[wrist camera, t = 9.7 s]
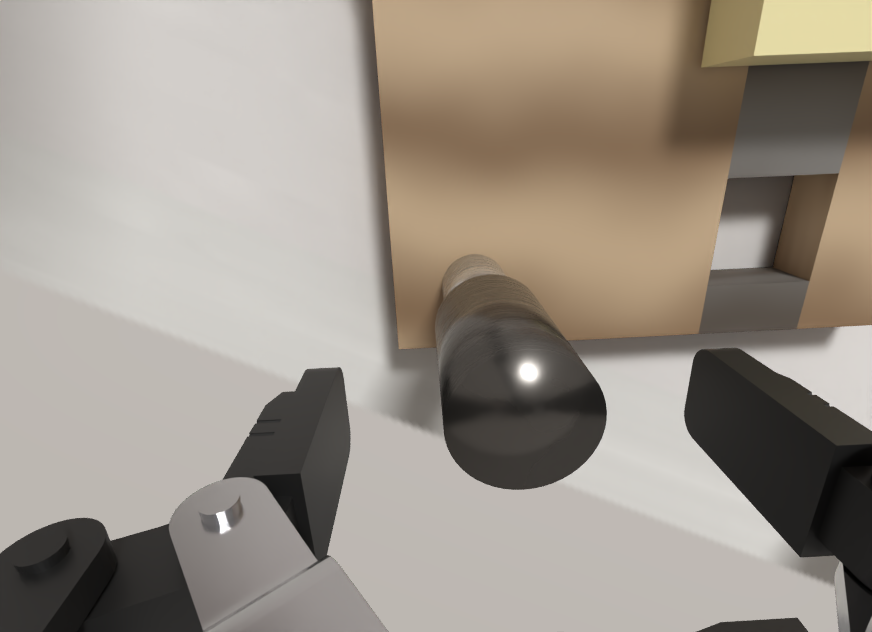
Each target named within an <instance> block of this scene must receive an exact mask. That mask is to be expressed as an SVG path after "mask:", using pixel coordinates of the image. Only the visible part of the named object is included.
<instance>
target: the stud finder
mask: <svg viewBox="0 0 872 632" xmlns="http://www.w3.org/2000/svg"><path fill="white" fill-rule="evenodd" d="M854 61H872V0H711V6H710V12H709V19H708V25H707V32H706V38H705V45H704V51H703V58H702V64H701V68H704V67H729V66H754V65H779V64H804V63H829V62H854Z"/></svg>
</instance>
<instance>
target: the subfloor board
mask: <svg viewBox="0 0 872 632" xmlns="http://www.w3.org/2000/svg"><path fill="white" fill-rule="evenodd" d="M372 5H373V19H374V32H375V45H376V58H377V71H378V84H379V97H380V110H381V123H382V136H383V149H384V162H385V175H386V188H387V202H388V215H389V228H390V241H391V254H392V267H393V280H394V293H395V306H396V319H397V332H398V345H399V349H413V348H433V347H437V346H436V334H435V321H436V315H437V312H438V309H439V307H440V305H441V303H442V301H443V300H444V297H443V291H442V281H443V277H444V274H445V272H446V270H447V269H448V267H449V266H450V265H451V264H452V263H453V262H454V261H456V260H457V259H459V258H461V257H463V256H466V255H471V254H479V255H484V256H487V257H489V258H491V259H493V260H494V261H495V262H497V263H498V265H499V266H500V267H501V269H502V270H503V272H504V273H505V275H506V276H507V277H511V278H513V279H515V280H518V281H519V282H521V283H523V284H524V285H525V286H526V287H528V288H529V289H530V291H531V292H532V293H533V294H534V295H535V297H536V298H537V300H538V301H539V302H540V304H541V305H542V306H543V308H544V309H545V311H546V312H547V313H548V315H549V316H550V317H551V319H552V320H553V322H554V323H555V324H556V326H557V327H558V329H559V330H560V331H561V333H562V334H563V335H564V337H565V338H566V340H567V341H569V340H588V339H608V338H627V337H647V336H666V335H686V334H705V333H725V332H744V331H764V330H783V329H803V328H822V327H842V326H861V325H872V61H854V62H829V63H804V64H779V65H754V66H729V67H704V68H701V64H702V58H703V51H704V45H705V38H706V32H707V25H708V19H709V12H710V6H711V0H372ZM792 175H795V176H794V180H793V185H792V189H791V193H790V197H789V201H788V206H787V210H786V214H785V218H784V222H783V226H782V231H781V235H780V239H779V243H778V247H777V252H776V256H775V260H774V264H773V267H766V268H746V269H725V270H711V264H712V259H713V254H714V248H715V243H716V238H717V232H718V227H719V222H720V216H721V211H722V206H723V200H724V195H725V190H726V184H727V179H728V178H747V177H769V176H792Z"/></svg>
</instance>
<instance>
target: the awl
mask: <svg viewBox="0 0 872 632" xmlns="http://www.w3.org/2000/svg"><path fill="white" fill-rule="evenodd" d="M442 291H443V297H444V300H443V301H442V303H441V305H440V307H439V309H438V312H437V315H436V321H435V334H436V346H437V358H438V369H439V381H440V392H441V404H442V415H443V427H444V436H445V441H446V444H447V447H448V450H449V452H450V454H451V456H452V457H453V459H454V460H455V462H456V463H457V464H458V465H459V466H460V467H461V468H462V469H463V470H464V471H465V472H466V473H467V474H469V475H470V476H472V477H473V478H475V479H476V480H479V481H481V482H483V483H485V484H488V485H491V486H494V487H498V488H503V489H513V490H514V489H515V490H516V489H517V490H519V489H532V488H537V487H542V486H545V485H548V484H551V483H554V482H556V481H558V480H561V479H563V478H564V477H566V476H568V475H570V474H571V473H573V472H574V471H575V470H577V469H578V468H579V467H580V466H582V465H583V464H584V463H585V462H586V461H587V460H588V458H589V457H590V456H591V455H592V454H593V452H594V451H595V449H596V448H597V446H598V444H599V442H600V440H601V438H602V436H603V433H604V430H605V425H606V416H607V410H606V402H605V398H604V395H603V392H602V390H601V388H600V386H599V384H598V383H597V381H596V380H595V378H594V377H593V376H592V374H591V373H590V371H589V370H588V369H587V367H586V366H585V365H584V363H583V362H582V360H581V359H580V358H579V356H578V355H577V353H576V352H575V351H574V349H573V348H572V347H571V345H570V344H569V342H568V341H567V340H566V338H565V337H564V335H563V334H562V333H561V331H560V330H559V329H558V327H557V326H556V324H555V323H554V322H553V320H552V319H551V317H550V316H549V315H548V313H547V312H546V311H545V309H544V308H543V306H542V305H541V304H540V302H539V301H538V300H537V298H536V297H535V295H534V294H533V293H532V292H531V291H530V289H529V288H528V287H526V286H525V285H524V284H523V283H521V282H519V281H518V280H515V279H513V278H511V277H507V276H506V275H505V273H504V272H503V270H502V269H501V267H500V266H499V265H498V263H497V262H495V261H494V260H493V259H491V258H489V257H487V256H484V255H479V254H471V255H466V256H463V257H461V258H459V259H457V260H456V261H454V262H453V263H452V264H451V265H450V266H449V267H448V269H447V270H446V272H445V274H444V277H443V281H442Z"/></svg>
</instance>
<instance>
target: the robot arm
mask: <svg viewBox="0 0 872 632" xmlns="http://www.w3.org/2000/svg"><path fill="white" fill-rule="evenodd" d="M684 416H685V423H686V427H687V429H688V432H689V434H690V435H691V437H692V438H693V439H694V440H695V441H696V443H697V444H698V445H699V446H700V447H701V448H702V449H703V450H704V451H705V453H706V454H707V455H708V456H709V457H710V458H711V459H712V460H713V461H714V462H715V464H716V465H717V466H718V467H719V468H720V469H721V470H722V471H723V472H724V473H725V475H726V476H727V477H728V478H729V479H730V480H731V481H732V482H733V483H734V485H735V486H736V487H737V488H738V489H739V490H740V491H741V492H742V493H743V494H744V496H745V497H746V498H747V499H748V500H749V501H750V502H751V503H752V504H753V506H754V507H755V508H756V509H757V510H758V511H759V512H760V513H761V514H762V515H763V517H764V518H765V519H766V520H767V521H768V522H769V523H770V524H771V525H772V526H773V528H774V529H775V530H776V531H777V532H778V533H779V534H780V535H781V536H782V538H783V539H784V540H785V541H786V542H787V543H788V544H789V545H790V546H791V547H792V549H793V550H794V551H795V552H796V553H797V554H798V555H799V556H800V557H816V556H833V555H835V556H836V557H837V558H838V559H839V560H840V561H839V564H838V566H837V569H836V572H835V575H834V582H835V594H836V605H837V616H838V627H839V632H872V431H870V430H869V429H867V428H866V427H864V426H863V425H861V424H860V423H858V422H857V421H855V420H854V419H852V418H851V417H849V416H847V415H846V414H844V413H843V412H841V411H840V410H838V409H837V408H835V407H830V406H829V403H827V402H826V401H824V400H823V399H821V398H820V397H818V396H817V395H812V392H811V391H809V390H807V389H806V388H804V387H803V386H801V385H800V384H798V383H797V382H795V381H794V380H792V379H790V378H788V377H785V376H783V375H780V374H778V373H776V372H774V371H773V370H771V369H769V368H768V367H766V366H765V365H763V364H762V363H760V362H759V361H757V360H756V359H754V358H753V357H751V356H750V355H748V354H747V353H745V352H744V351H742V350H741V349H738V348H721V349H702V350H700V351H698V352H697V353H696V355H695V357H694V360H693V364H692V370H691V376H690V381H689V387H688V393H687V398H686V404H685V411H684ZM249 434H250V435H249V437H247V438H246V440H245V442H244V444H243V446H242V447H241V449H240V451H239V452H238V454H237V456H236V457H235V459H234V461H233V463H232V464H231V466H230V468H229V470H228V471H227V473H226V475H225V477H224V478H223V480H221V481H217V482H215V483H212V484H210V485H207V486H205V487H203V488H201V489H199V490H198V491H196V492H195V493H193V494H192V495H190V496H189V497H188V498H186V499H185V500H184V501H183V502H182V503H181V504H180V505H179V506H178V508H177V509H176V510H175V512H174V513H173V515H172V517H171V520H170V522H169V524H167V525H164V526H161V527H158V528H154V529H151V530H148V531H144V532H140V533H137V534H133V535H130V536H126V537H123V538H119V539H116V540H112V541H110V539H109V537H108V534H107V531H106V529H105V527H104V525H103V524H102V523H101V522H99V521H97V520H94V519H90V518H75V519H69V520H64V521H61V522H57V523H54V524H51V525H48V526H46V527H43V528H41V529H39V530H36V531H34V532H32V533H30V534H28V535H27V536H25V537H23V538H21V539H20V540H18V541H16V542H15V543H14V544H12V545H11V546H9V547H8V548H6V549H5V550H4V551H3V552H2V553H1V554H0V632H388V630H387V629H386V628H385V626H384V625H383V624H382V623H381V621H380V620H379V618H378V617H377V615H376V614H375V613H374V611H373V610H372V609H371V607H370V606H369V605H368V603H367V602H366V600H365V599H364V598H363V596H362V595H361V594H360V592H359V591H358V589H357V588H356V587H355V585H354V584H353V583H352V581H351V580H350V579H349V577H348V576H347V574H346V573H345V572H344V570H343V569H342V568H341V566H340V565H339V564H338V563H337V562H336V560H335V559H333V558H332V557H331V556H328V555H327V551H328V547H329V543H330V538H331V534H332V529H333V525H334V520H335V516H336V511H337V507H338V503H339V498H340V494H341V489H342V485H343V480H344V476H345V471H346V466H347V463H348V458H349V452H350V425H349V416H348V409H347V401H346V393H345V385H344V378H343V373H342V370H341V368H340V367H337V368H318V369H307V370H306V371H305V372H304V374H303V376H302V378H301V380H300V382H299V384H298V386H297V389H296V391H295V392H282V393H281V394H280V395H278V396H277V397H276V398H274V399H273V400H272V401H271V402H269V403H268V404H267V405H266V406H265V408H264V409H263V411H262V412H261V414H260V416H259V418H258V419H257V424H255V425H254V427H253V428H252V430H251V431H250V433H249ZM697 632H808V631H807V629H806V628H805V627H804V626H803V624H802V623H801V622H800V621H799V619H798V618H785V619H769V620H753V621H735V622H720V623H718V624H715V625H713V626H710V627H708V628H705V629H702V630H700V631H697Z"/></svg>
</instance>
